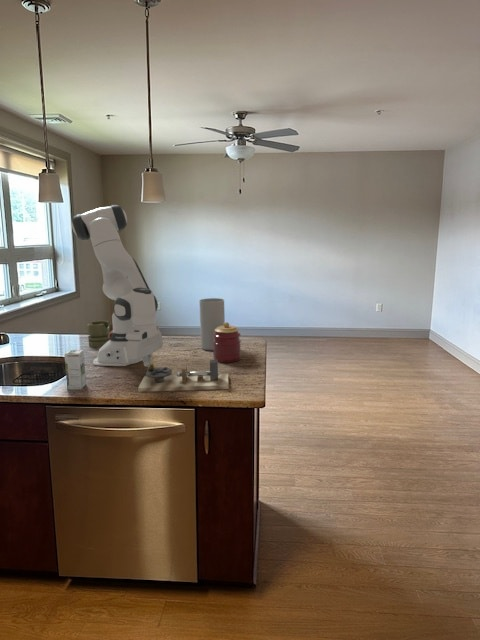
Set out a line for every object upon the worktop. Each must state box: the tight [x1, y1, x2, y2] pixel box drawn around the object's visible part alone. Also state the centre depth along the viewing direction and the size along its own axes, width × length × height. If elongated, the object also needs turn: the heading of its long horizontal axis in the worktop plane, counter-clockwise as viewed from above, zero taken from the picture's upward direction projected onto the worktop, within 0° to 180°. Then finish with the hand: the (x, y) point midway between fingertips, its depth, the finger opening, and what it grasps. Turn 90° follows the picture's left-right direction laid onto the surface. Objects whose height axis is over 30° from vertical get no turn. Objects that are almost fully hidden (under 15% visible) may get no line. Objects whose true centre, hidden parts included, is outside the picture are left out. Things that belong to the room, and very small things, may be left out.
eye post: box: [181, 362, 188, 384], centre depth 168 cm, size 1×7×6 cm, turn 2°
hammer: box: [176, 359, 221, 381], centre depth 168 cm, size 17×4×7 cm, turn 92°
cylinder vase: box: [199, 297, 226, 352], centre depth 220 cm, size 12×12×25 cm
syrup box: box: [64, 349, 87, 391], centre depth 166 cm, size 6×6×14 cm
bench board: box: [137, 373, 229, 393], centre depth 168 cm, size 34×14×4 cm, turn 92°
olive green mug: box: [86, 320, 111, 348], centre depth 232 cm, size 11×12×11 cm
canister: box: [212, 321, 242, 363], centre depth 200 cm, size 13×13×18 cm
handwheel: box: [145, 356, 173, 378], centre depth 167 cm, size 10×10×6 cm
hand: (147, 365), depth 166 cm, fingers closed
